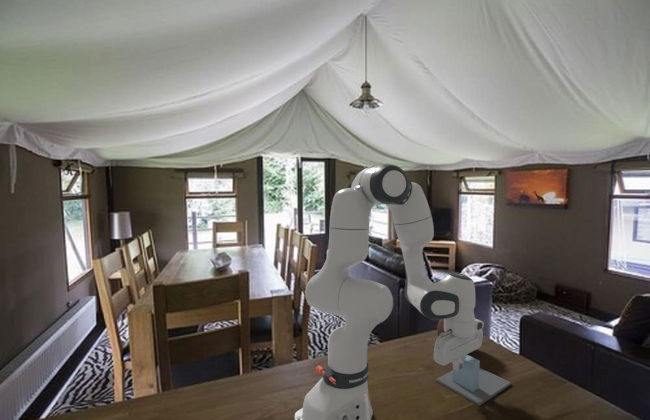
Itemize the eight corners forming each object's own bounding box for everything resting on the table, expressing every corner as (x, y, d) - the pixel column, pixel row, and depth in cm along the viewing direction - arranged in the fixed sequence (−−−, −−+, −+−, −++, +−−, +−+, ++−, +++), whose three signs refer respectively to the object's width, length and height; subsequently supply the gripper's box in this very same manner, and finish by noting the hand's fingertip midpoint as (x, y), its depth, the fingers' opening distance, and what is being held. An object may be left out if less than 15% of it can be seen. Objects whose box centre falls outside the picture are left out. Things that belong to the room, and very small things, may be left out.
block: (472, 392, 102) (473, 364, 101) (452, 381, 108) (453, 354, 107) (478, 388, 104) (479, 360, 103) (458, 377, 110) (459, 351, 109)
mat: (479, 405, 97) (479, 403, 97) (436, 381, 109) (436, 378, 109) (510, 384, 107) (510, 382, 107) (468, 364, 119) (468, 362, 119)
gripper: (447, 338, 93) (446, 385, 94) (486, 321, 105) (485, 363, 106) (428, 330, 99) (428, 375, 100) (468, 314, 110) (467, 354, 111)
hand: (458, 368), depth 103 cm, fingers closed
